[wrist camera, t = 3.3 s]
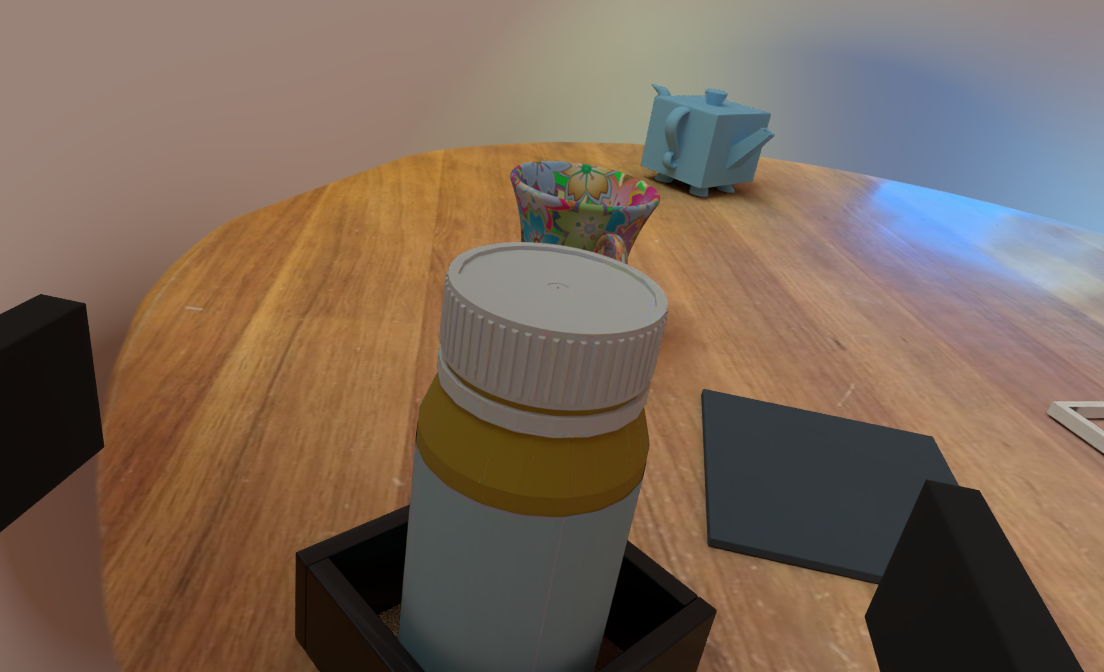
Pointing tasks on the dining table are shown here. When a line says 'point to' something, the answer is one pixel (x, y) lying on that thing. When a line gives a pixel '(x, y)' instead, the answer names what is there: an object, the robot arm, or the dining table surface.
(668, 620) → the holder
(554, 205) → the mug
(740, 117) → the teapot
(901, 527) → the mat
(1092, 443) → the photo frame
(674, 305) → the dining table surface
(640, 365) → the bottle
